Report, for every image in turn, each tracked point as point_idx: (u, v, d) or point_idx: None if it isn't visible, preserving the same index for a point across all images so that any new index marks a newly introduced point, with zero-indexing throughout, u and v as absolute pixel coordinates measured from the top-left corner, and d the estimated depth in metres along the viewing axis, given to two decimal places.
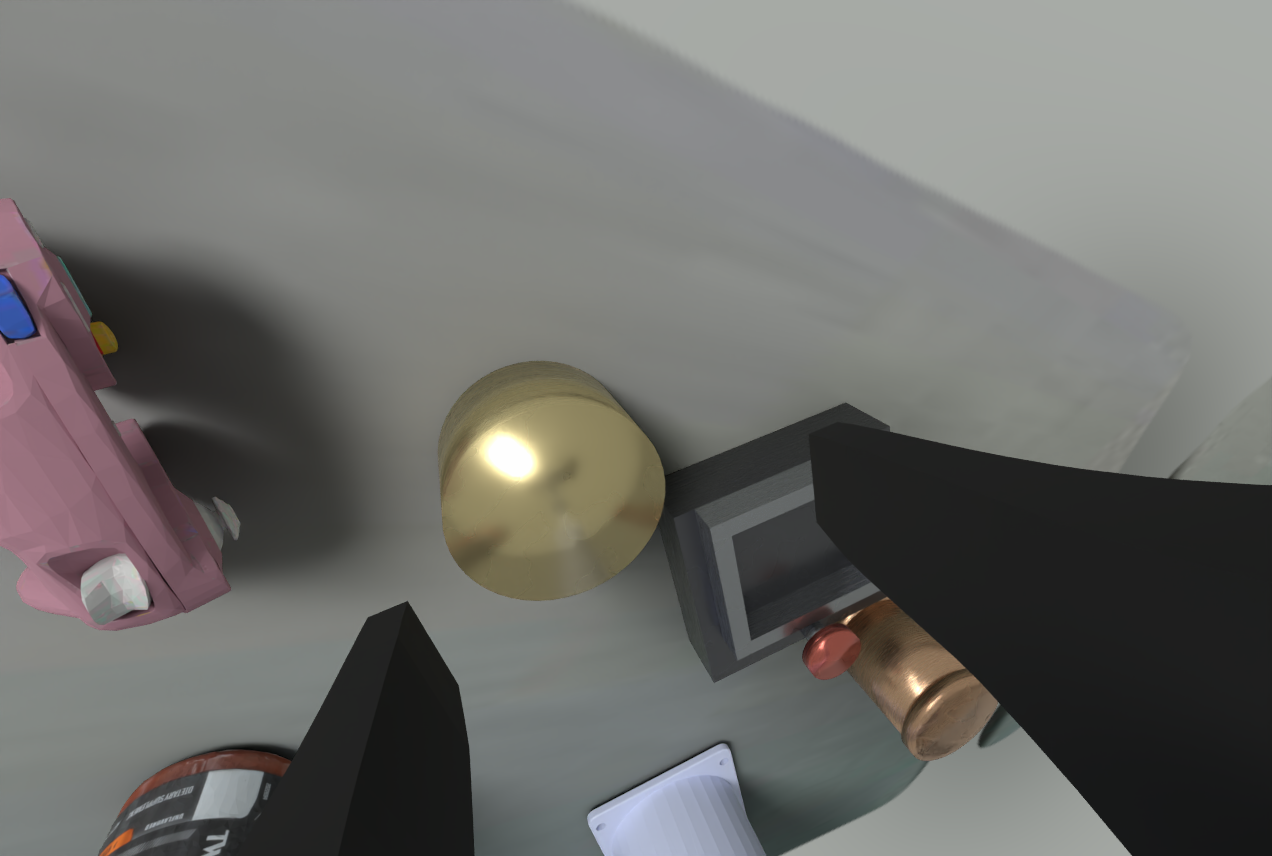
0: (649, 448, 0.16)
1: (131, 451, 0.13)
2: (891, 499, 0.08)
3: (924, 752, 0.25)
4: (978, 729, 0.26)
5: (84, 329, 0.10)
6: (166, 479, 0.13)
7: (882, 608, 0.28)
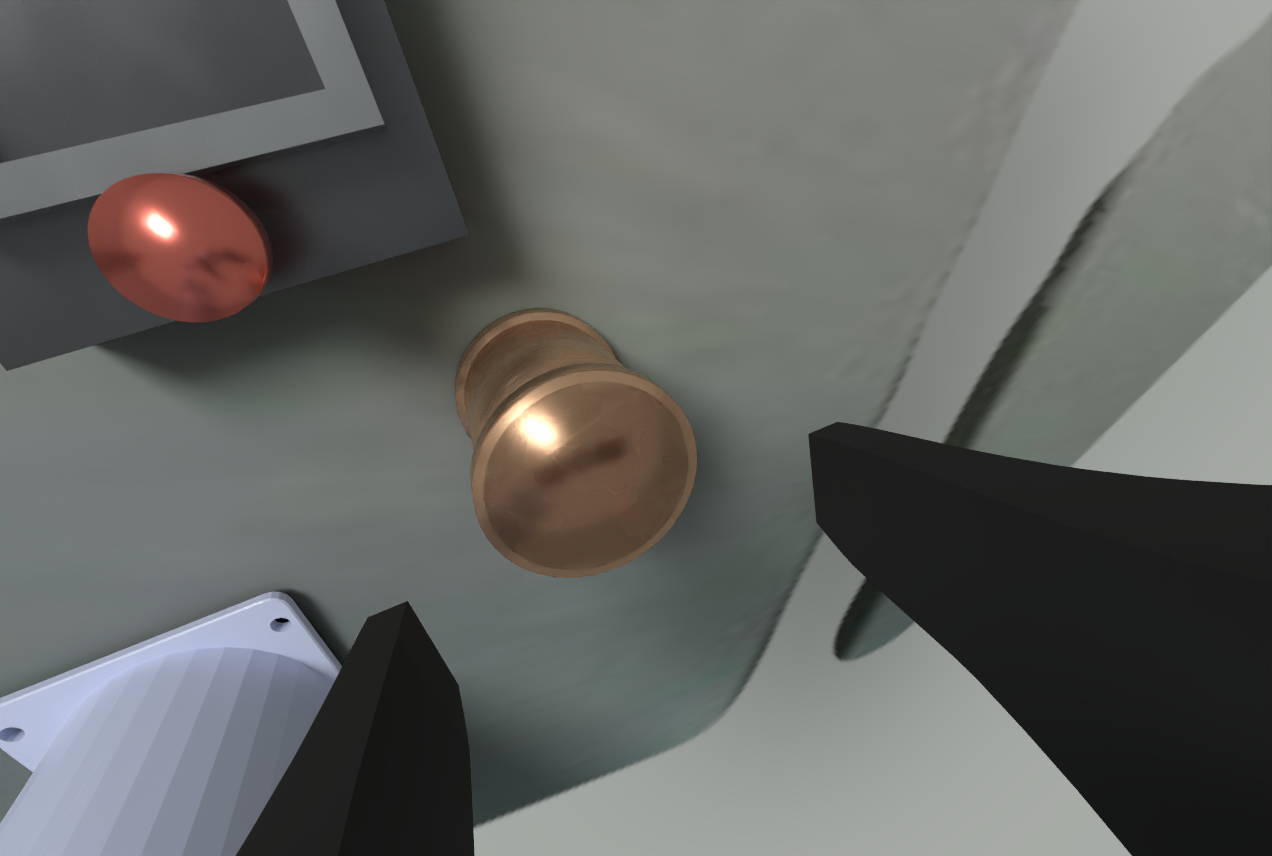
0: None
1: None
2: (891, 499, 0.08)
3: (531, 552, 0.12)
4: (668, 520, 0.13)
5: None
6: None
7: (531, 325, 0.15)
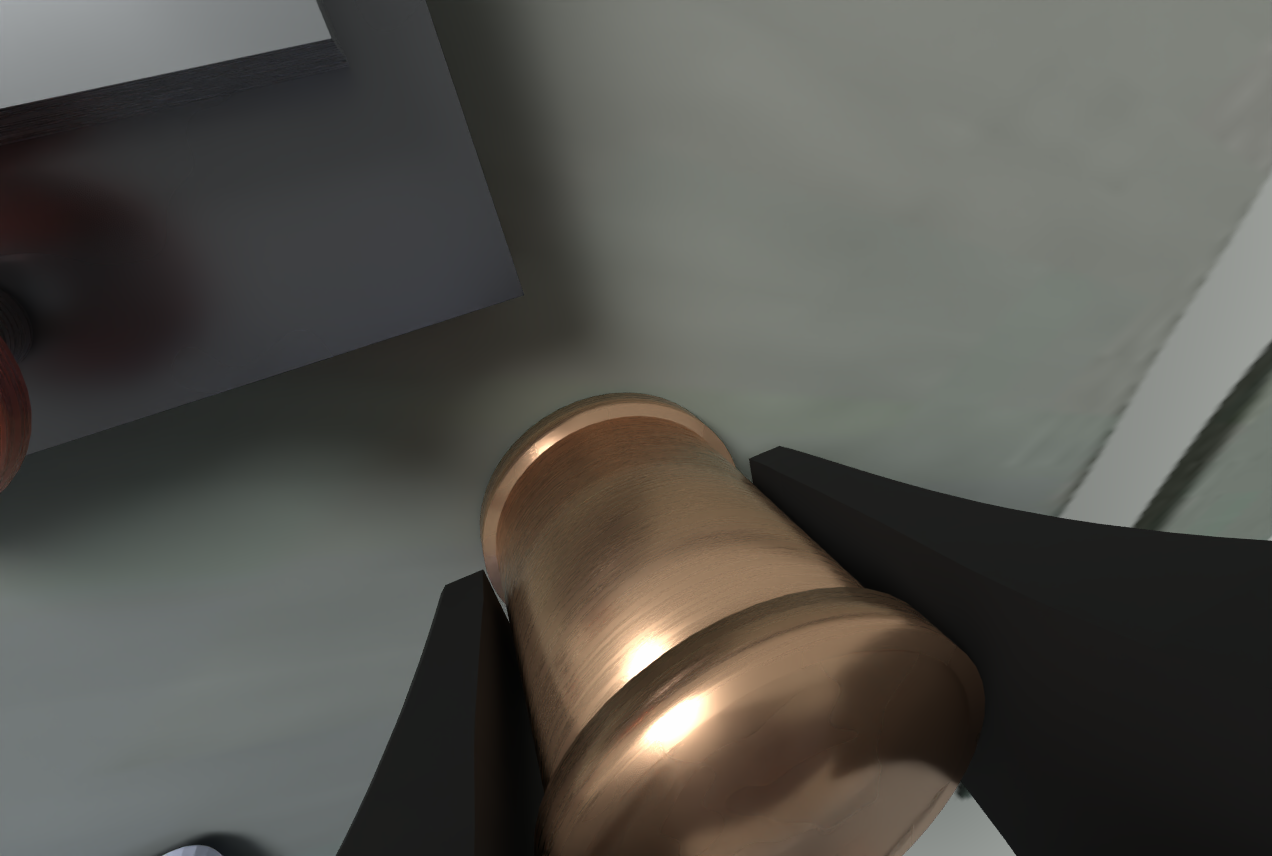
0: None
1: None
2: (823, 530, 0.08)
3: None
4: (904, 843, 0.07)
5: None
6: None
7: (614, 431, 0.09)
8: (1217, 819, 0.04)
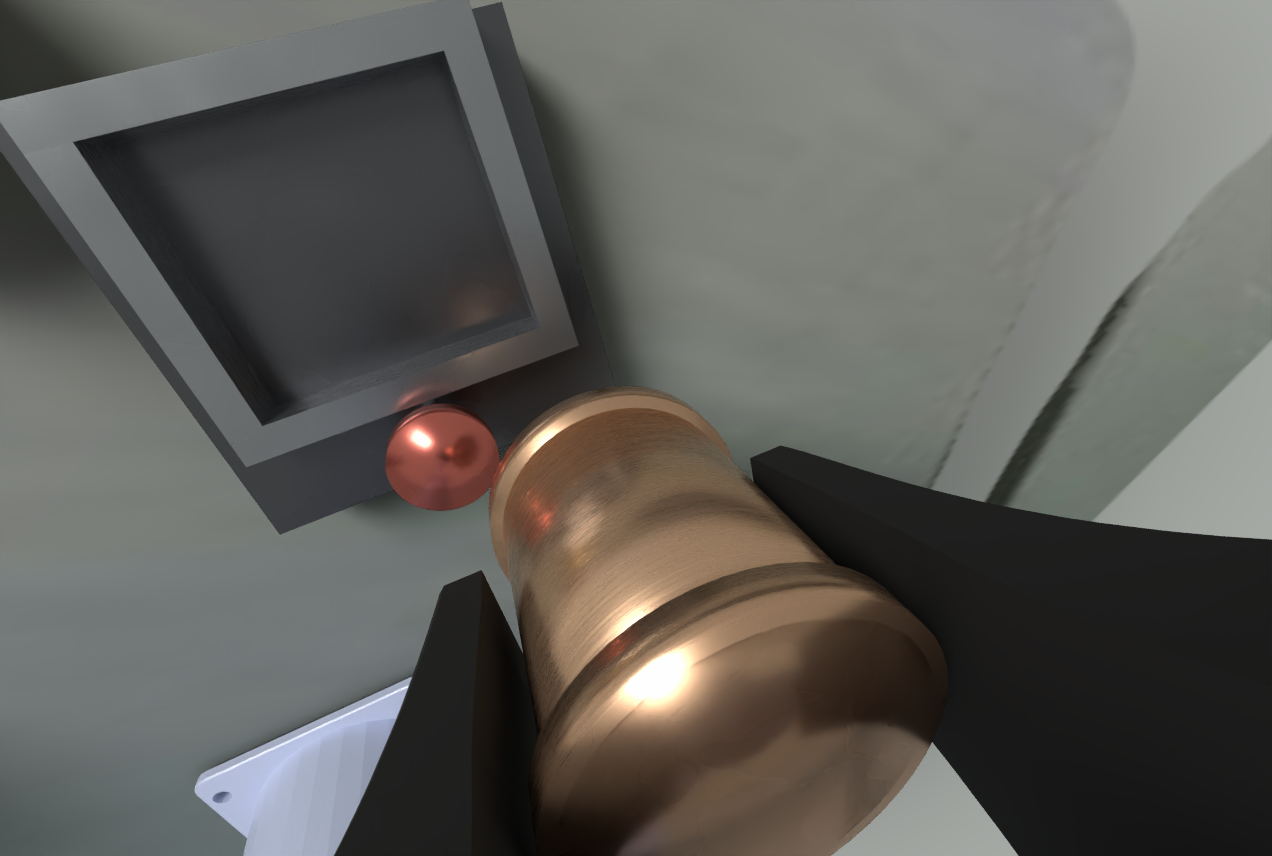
0: None
1: None
2: (824, 530, 0.08)
3: None
4: (878, 803, 0.07)
5: None
6: None
7: (610, 422, 0.09)
8: (1219, 817, 0.04)
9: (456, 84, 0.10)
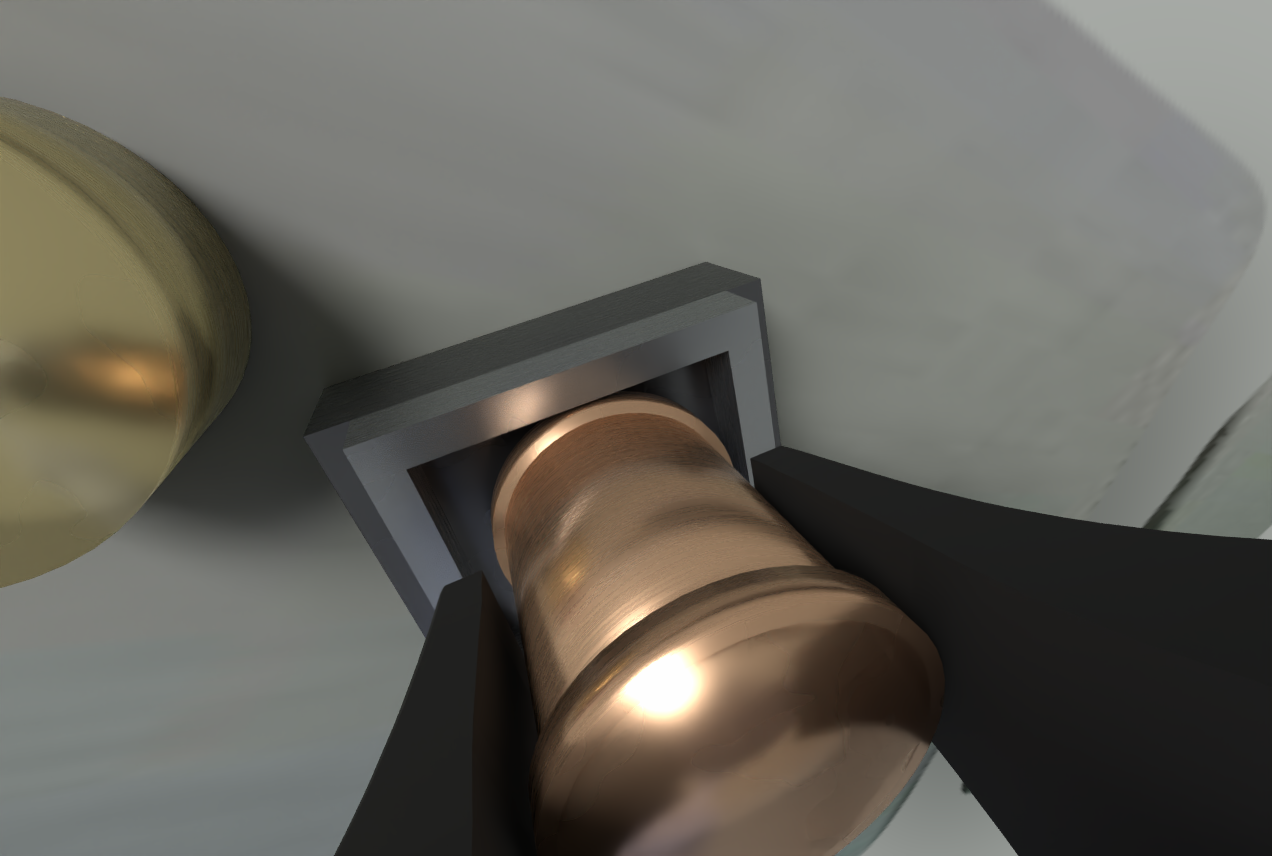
0: (63, 224, 0.06)
1: None
2: (824, 529, 0.08)
3: None
4: (881, 801, 0.07)
5: None
6: None
7: (605, 429, 0.09)
8: (1219, 817, 0.04)
9: (732, 374, 0.11)
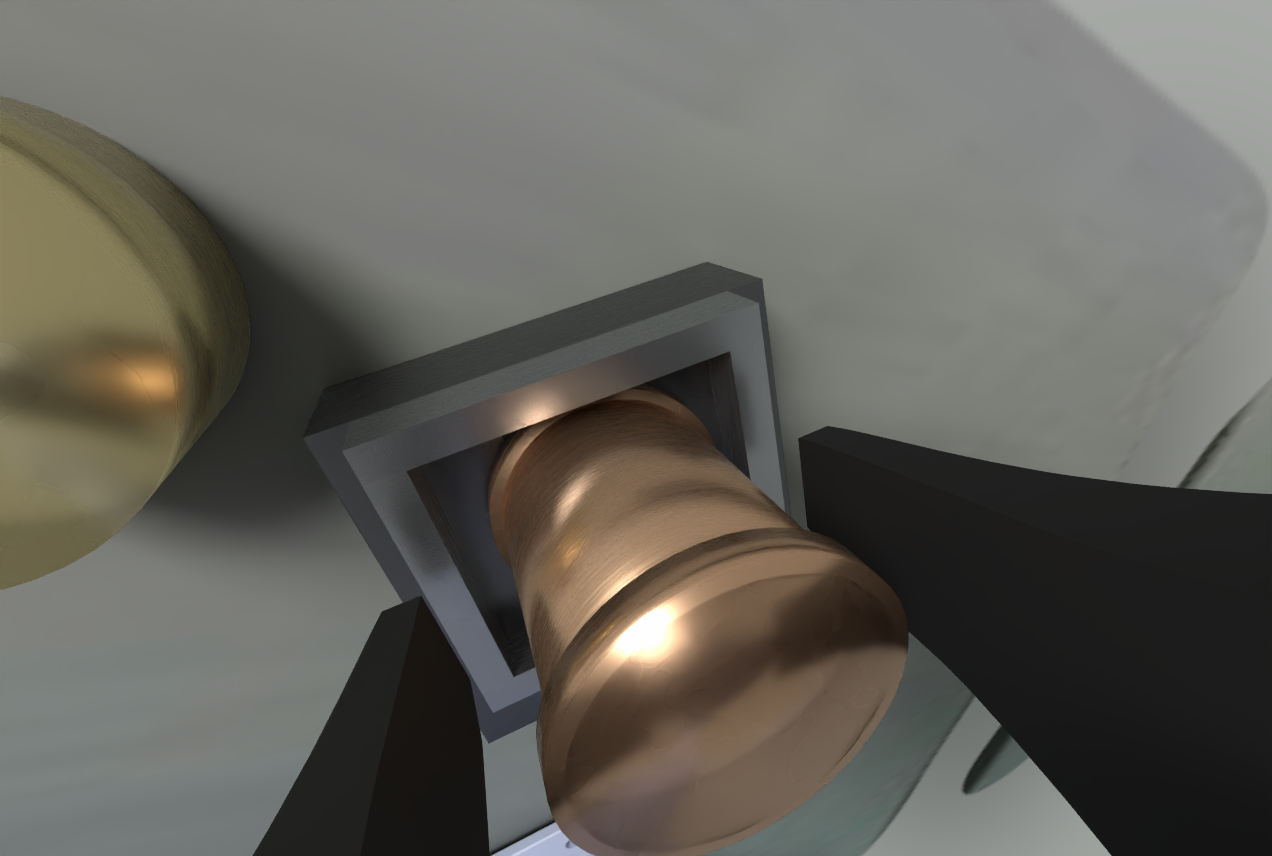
0: (61, 225, 0.06)
1: None
2: (879, 505, 0.08)
3: (645, 840, 0.07)
4: (854, 745, 0.08)
5: None
6: None
7: (597, 414, 0.10)
8: None
9: (733, 375, 0.11)
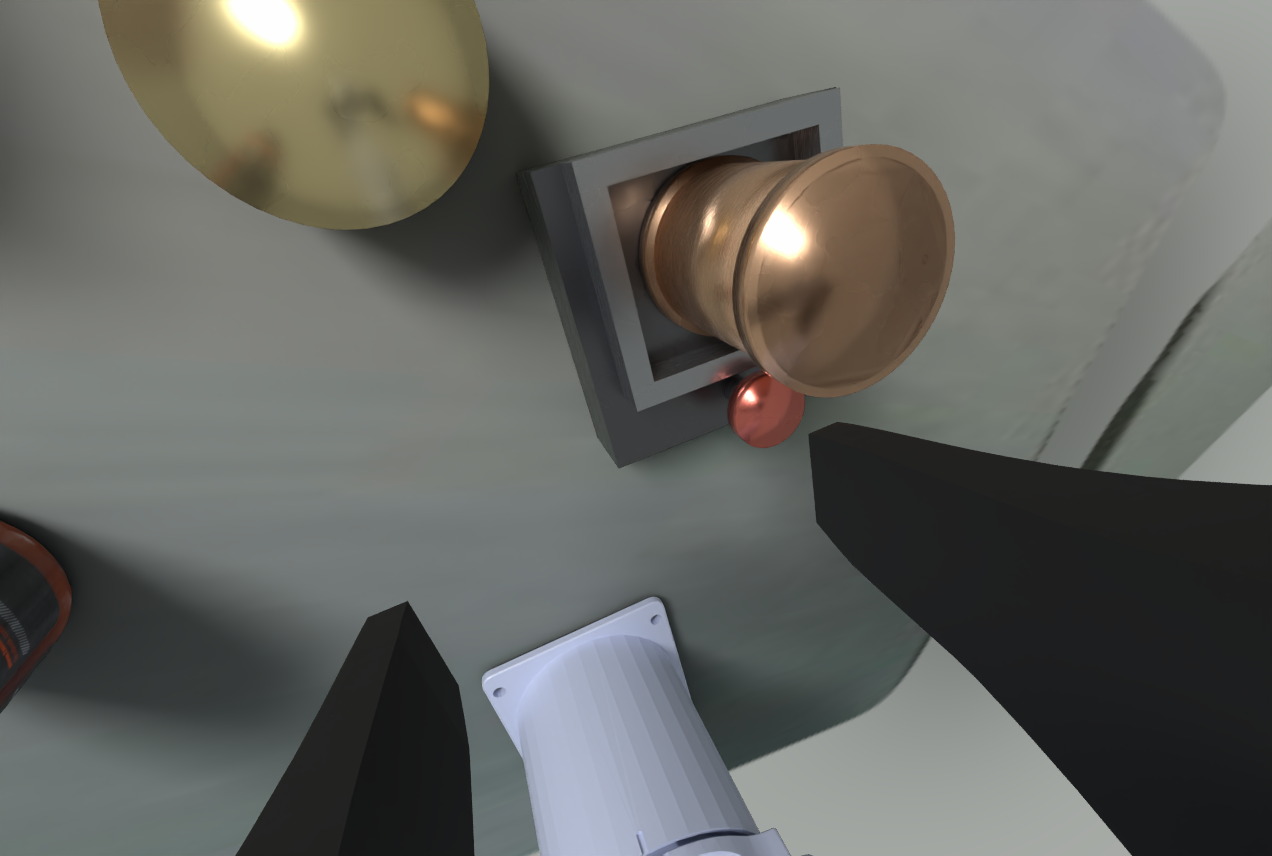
0: None
1: None
2: (891, 499, 0.08)
3: (792, 364, 0.11)
4: (917, 334, 0.12)
5: None
6: None
7: (727, 164, 0.14)
8: None
9: (819, 146, 0.15)
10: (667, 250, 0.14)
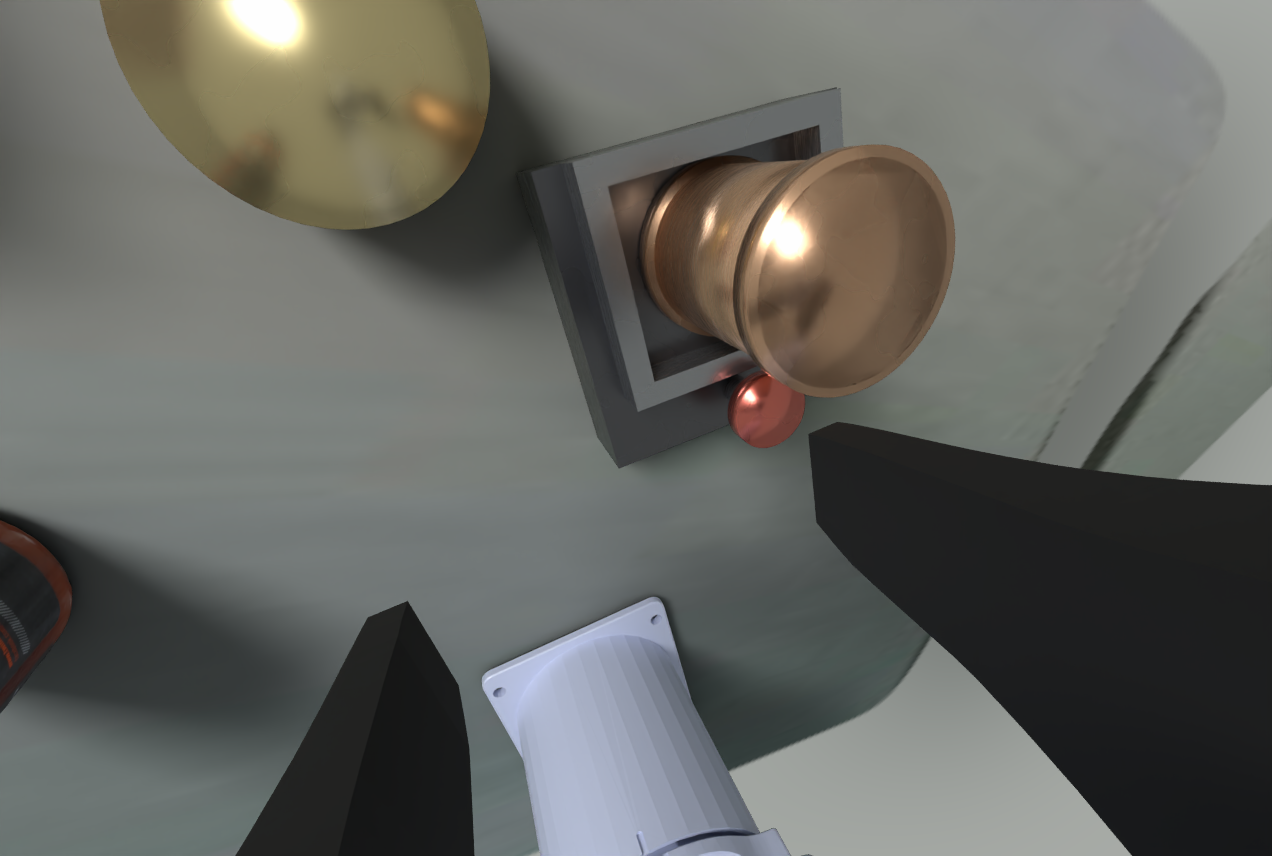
0: None
1: None
2: (891, 499, 0.08)
3: (792, 364, 0.11)
4: (918, 334, 0.12)
5: None
6: None
7: (728, 164, 0.14)
8: None
9: (820, 146, 0.15)
10: (668, 250, 0.14)
